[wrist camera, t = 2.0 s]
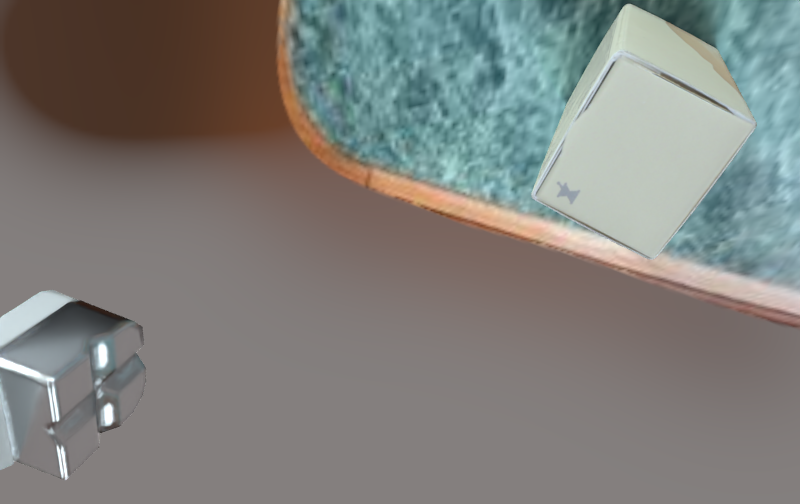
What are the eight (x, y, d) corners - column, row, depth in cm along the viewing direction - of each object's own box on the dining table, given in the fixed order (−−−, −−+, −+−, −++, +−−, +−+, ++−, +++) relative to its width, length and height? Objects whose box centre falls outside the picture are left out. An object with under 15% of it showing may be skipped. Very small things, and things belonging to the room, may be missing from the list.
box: (648, 153, 29) (647, 273, 20) (561, 107, 30) (521, 204, 20) (725, 43, 27) (765, 124, 17) (628, -7, 27) (616, 46, 18)
